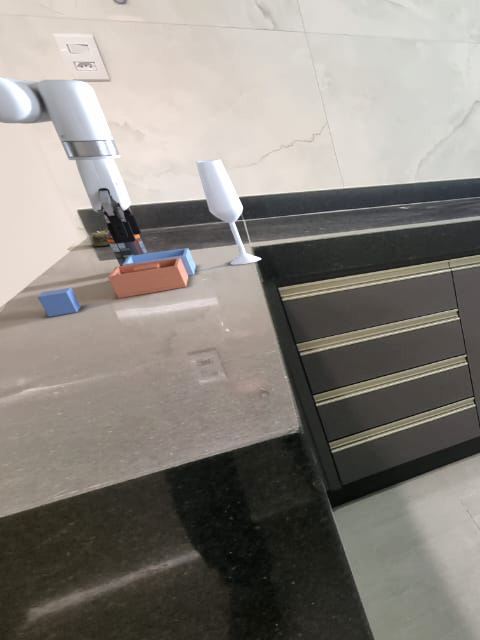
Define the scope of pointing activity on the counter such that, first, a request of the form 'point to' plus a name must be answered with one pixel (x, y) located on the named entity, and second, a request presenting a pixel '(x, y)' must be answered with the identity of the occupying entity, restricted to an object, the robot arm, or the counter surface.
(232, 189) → the champagne flute
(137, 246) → the supplement bottle
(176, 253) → the blue bin
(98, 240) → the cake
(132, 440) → the counter surface
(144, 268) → the terracotta block
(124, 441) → the counter surface
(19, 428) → the counter surface
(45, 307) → the slate-blue block
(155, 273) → the terracotta bin
